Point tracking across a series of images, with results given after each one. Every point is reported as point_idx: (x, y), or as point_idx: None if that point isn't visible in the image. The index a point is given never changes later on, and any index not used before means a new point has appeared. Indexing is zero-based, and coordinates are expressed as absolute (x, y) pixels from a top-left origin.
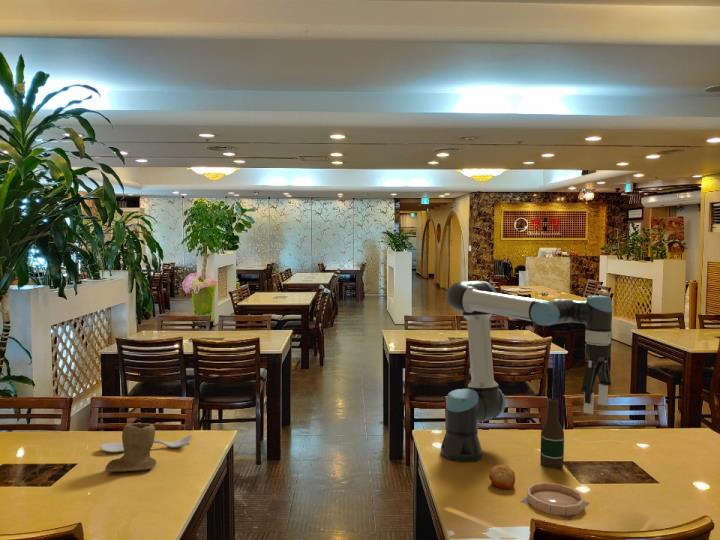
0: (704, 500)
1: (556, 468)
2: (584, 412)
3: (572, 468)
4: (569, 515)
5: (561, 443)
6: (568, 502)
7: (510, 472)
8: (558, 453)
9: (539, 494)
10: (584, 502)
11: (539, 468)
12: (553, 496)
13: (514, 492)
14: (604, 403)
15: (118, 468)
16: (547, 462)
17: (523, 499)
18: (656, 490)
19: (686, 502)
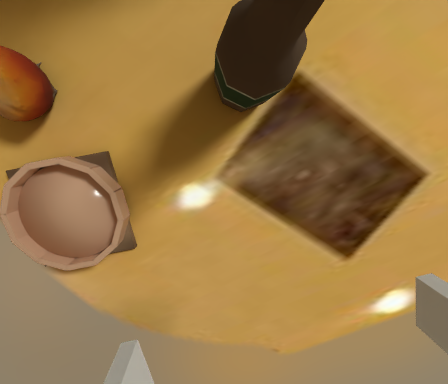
0: (330, 329)
1: (229, 105)
2: (123, 348)
3: (276, 119)
4: None
5: (250, 100)
6: (86, 234)
7: (1, 105)
8: (237, 101)
9: (58, 181)
10: (128, 242)
11: (208, 69)
12: (80, 203)
13: (44, 123)
14: (424, 322)
15: None
16: (216, 84)
17: (20, 168)
18: (307, 273)
19: (298, 319)
